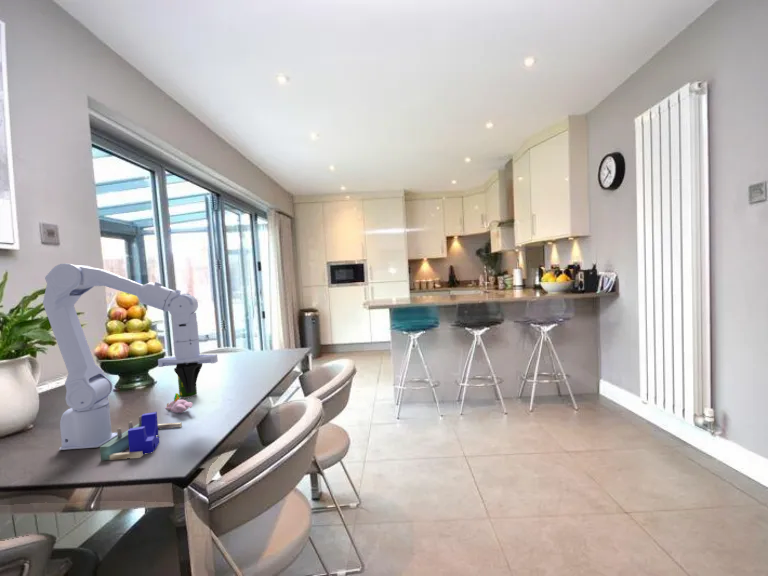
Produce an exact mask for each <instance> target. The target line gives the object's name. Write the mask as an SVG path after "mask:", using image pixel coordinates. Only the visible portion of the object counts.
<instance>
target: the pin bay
mask: <svg viewBox="0 0 768 576" xmlns="http://www.w3.org/2000/svg"><path fill="white" fill-rule="evenodd" d="M141 416H142V415H139V416H138V423H137V424H135V425H133V421H129V422H128V423H127V424H128V429H127V430H125V431H124V432H122V427H118V428H117V429H116V433H117V435H118V436H116V437H115V438H113V439H112V440H110V441H108V442H107V443H105V444H103V445H102V446H100V447H99V452H100V453H99V455H100V461H111V460H113V461H114V460H128V459H127V458H130V459H139V458H142V457H143V456H144V454H143V451H138V452H129V451H126V450H127V449H129V439H128V430H129V429H130V428H137V427H141V425H142V417H141ZM172 427H180V428H182V427H183V423H182V422H169V423H168V422H167V423H158V428H166V429H173V428H172ZM126 448H127V449H126ZM122 451H123V452H122ZM125 451H126V452H125ZM141 456H142V457H141Z"/></svg>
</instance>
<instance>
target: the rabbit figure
mask: <svg viewBox="0 0 768 576" xmlns="http://www.w3.org/2000/svg"><path fill="white" fill-rule="evenodd" d="M193 404H194V403H193V402H191V401H188V400H187V399H181V398H180V396H179V392H176V393H175V394H174V397H173V401H170V402H168V403H166V406H165V407H164V409H165V410H168V411H170V412H172V413H176V414H182V413H184V412H186V411H187V410H188V409H189V408H190V409H191V408H192V407H193Z"/></svg>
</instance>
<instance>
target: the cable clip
mask: <svg viewBox="0 0 768 576" xmlns="http://www.w3.org/2000/svg"><path fill="white" fill-rule="evenodd" d="M140 416H141V417H142V425H141V427H137V428H130V429H129V428H128V429H127V430H128V439H129V447H128V450H129V451H128V452H138V451H143V455H146V454H145V453H148V454H152V453H151V452H153V451H155V450H156V449H157V447H158V445H159V444H160V437H159V436H157V437H156V435H159V429H158V424H159V422H158V412H157V411H152V412H147V413H142V415H140ZM155 448H156V449H155ZM153 453H154V452H153Z"/></svg>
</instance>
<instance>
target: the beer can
mask: <svg viewBox="0 0 768 576" xmlns="http://www.w3.org/2000/svg"><path fill="white" fill-rule="evenodd" d="M192 362H194V361H192ZM177 381H178V382H177V383H178V394H179V396H180V398H179V399H180V400H188V398H189V399H192V398H195V397H197V395H198V392H197V391H198V390H197V389H198V388H197V385H196V386H195V391H194V392H192V393H186V391H185V388H184V385H183V383H182V381H181V379H180V378H179V376H178V375H177Z"/></svg>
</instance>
